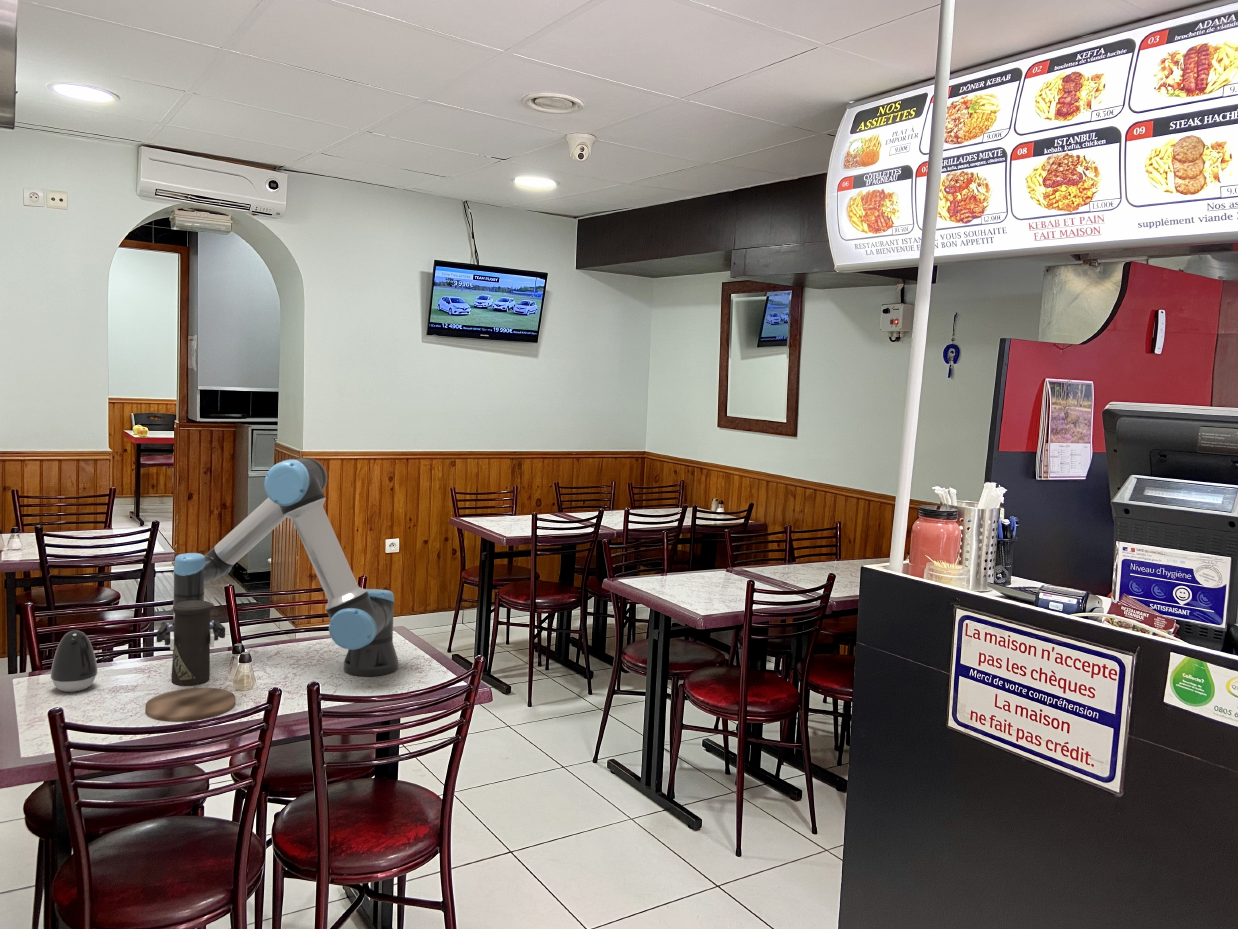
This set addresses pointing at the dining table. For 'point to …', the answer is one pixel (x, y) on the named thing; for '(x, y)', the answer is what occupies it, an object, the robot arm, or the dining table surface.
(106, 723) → the dining table surface
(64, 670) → the black egg shaped device
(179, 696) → the round wooden board
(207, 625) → the container
